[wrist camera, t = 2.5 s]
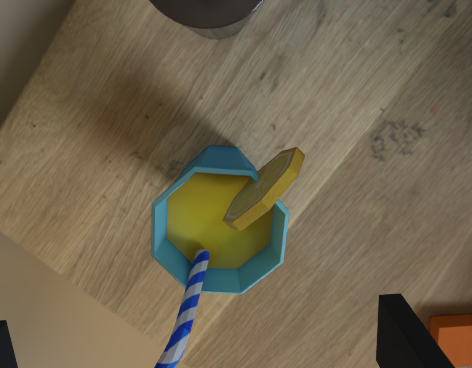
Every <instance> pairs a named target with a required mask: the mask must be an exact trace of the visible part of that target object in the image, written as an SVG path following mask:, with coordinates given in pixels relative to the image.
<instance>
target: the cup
mask: <svg viewBox="0 0 472 368" xmlns="http://www.w3.org/2000/svg"><path fill="white" fill-rule="evenodd" d="M304 157H305V155H304V154H303V153H302V152H301V151H300V150H299V149H298V148H297V147H295V148H292V149H288V150H284V151H282V152H280V153H279V154H278V155H277V156H276V157H274V158H273V159H272V160H271V161H270V162H268V163H267V164H266V165H265V166H264V167H262V168H261V169H260V170H259V171H258V172H257V170H256V169H255V167H254V166H253V165H252V164H251V163H250V162H249V160H248V159H247V158H246V157H245V156H244V155H243V154H242V153H241V151H240V150H239V149H238V148H237V147H226V146H210V145H209V146H208V147H207V148H206V149H205V150H204V151H203V152H201V153H200V154H199V155H198V156H197V157H196V158H194V159H193V160H192V161H191V162H190V163H189V164H188V165H187V167H186V168H185V169H184V171H183V172H182V173H181V175H180V176H179V177H178V179H177V180H176V181H175V183H174V184H173V185H172V186H171V187H170V188H168V189H167V190H166V191H165V192H164V193H163V194H161V195H160V196H159V197H158V198H157V199H156V200H155V201H154V202H153V203H152V226H151V256H152V257H153V258H154V259H155V260H156V261H157V262H158V263H159V264H160V265H162V266H163V267H164V268H165V269H166V270H167V271H168V272H169V273H170V274H171V275H172V276H173V277H174V278H175V279H176V280H177V281H178V282H179V283H180V284H181V285H182V286H183V287H184V288H185V293H184V296H183V299H182V303H181V306H180V310H179V313H178V316H177V320H176V323H175V326H174V330H173V332H172V335H171V338H170V340H169V342H168V344H167V346H166V348H165V350H164V352H163V353H162V355H161V357H160V359H159V360H158V362H157V364H156V366H155V367H154V368H175V367H176V365H177V364H178V362H179V360H180V359H181V357H182V355H183V352H184V349H185V346H186V343H187V341H188V338H189V335H190V331H191V327H192V323H193V319H194V315H195V312H196V308H197V304H198V300H199V296H200V292H204V293H224V294H243V293H244V292H246V291H247V290H248V289H250V288H251V287H252V286H254V285H255V284H256V283H257V282H259V281H260V280H261V279H263V278H264V277H265V276H267V275H268V274H269V273H270V272H272V271H273V270H274V269H276V268H277V267H278V266H279V265H281V264H282V263H283V260H284V252H285V243H286V235H287V226H288V217H289V211H288V210H287V209H286V207H285V206H284V205H283V204H282V203H281V202H280V200H279V198H280V197H281V196H282V194H283V193H284V192H285V191H286V190H287V189H288V187H289V186H290V185H291V184H292V183H293V181H294V180H295V179H296V178H297V177H298V175H299V172H300V169H301V166H302V163H303V160H304Z"/></svg>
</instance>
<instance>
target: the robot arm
mask: <svg viewBox="0 0 472 368" xmlns="http://www.w3.org/2000/svg"><path fill="white" fill-rule="evenodd" d="M376 361H377V363H378V365H379V367H380V368H455V367H454V366H453V364H452V363H451V362H450V360H449V359H448V358H447V356H446V355H445V353H444V352H443V351H442V349H441V348H440V347H439V345H438V344H437V343H436V341H435V340H434V338H433V337H432V336H431V334H430V333H429V332H428V330H427V329H426V328H425V326H424V325H423V323H422V322H421V321H420V319H419V318H418V317H417V315H416V314H415V313H414V311H413V310H412V308H411V307H410V306H409V304H408V303H407V302H406V300H405V299H404V298H403V296H402V295H401V294H386V295H379V307H378V328H377V350H376ZM0 368H18V366H17V362H16V358H15V354H14V350H13V346H12V342H11V338H10V334H9V330H8V326H7V322H6V320H1V321H0Z"/></svg>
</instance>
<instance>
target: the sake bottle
mask: <svg viewBox="0 0 472 368" xmlns="http://www.w3.org/2000/svg"><path fill="white" fill-rule="evenodd" d="M149 1H150V2H151V3H152V4H153V5H154V6H155V7H156V8H157V9H158V10H159V11H160V12H162V13H163V14H164V15H165V16H167V17H168V18H170V19H172V20H173V21H175V22H177V23H179V24H180V25H182V26H184V27H186V28H188V29H189V30H191V31H193V32H195V33H197V34H198V35H200V36H202V37H205V38H208V39H214V40H220V39H225V38H229V37H231V36H233V35H235V34H236V33H238V32H239V31H240V30H241V29H242V28H243V27H244V26H245V25H246V23H247V22H248V21H249V19H250V18H251V17H252V15H253V14H254V13H255V11H256V10H257V9H258V8H259V6H260V5H261V4H262V2H263V1H264V0H149Z"/></svg>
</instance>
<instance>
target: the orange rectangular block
mask: <svg viewBox="0 0 472 368" xmlns="http://www.w3.org/2000/svg"><path fill="white" fill-rule="evenodd" d="M429 333H430V334H431V336H432V337H433V338H434V340H435V341H436V343H437V344H438V345H439V347H440V348H441V349H442V351H443V352H444V353H445V355H446V356H447V358H448V359H449V360H450V362H451V363H452V364H453V366H469V365H472V314H463V315H448V316H432V317H431V320H430V331H429Z"/></svg>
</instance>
